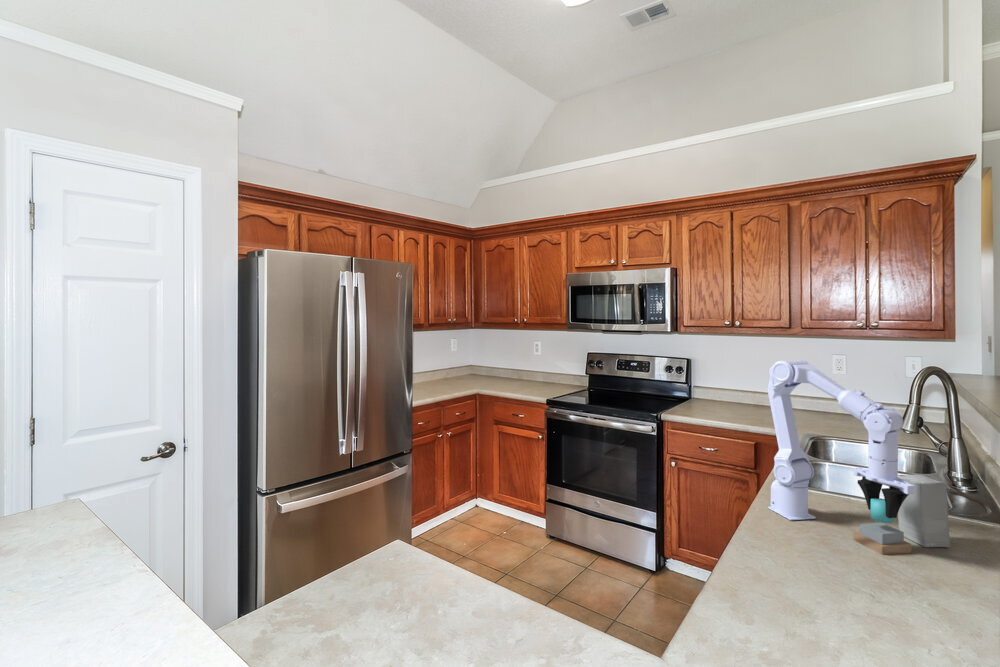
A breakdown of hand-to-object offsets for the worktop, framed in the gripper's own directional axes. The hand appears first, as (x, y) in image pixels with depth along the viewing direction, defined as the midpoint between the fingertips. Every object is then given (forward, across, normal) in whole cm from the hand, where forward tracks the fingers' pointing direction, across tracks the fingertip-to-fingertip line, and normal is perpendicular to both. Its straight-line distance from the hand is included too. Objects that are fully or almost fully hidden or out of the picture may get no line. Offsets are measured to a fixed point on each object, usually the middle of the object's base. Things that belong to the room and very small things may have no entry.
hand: (882, 513), depth 121 cm
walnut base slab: (+9, 0, 0) cm, 9 cm away
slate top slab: (+6, 0, 0) cm, 6 cm away
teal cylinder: (+1, 0, 0) cm, 1 cm away
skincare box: (+8, -1, +12) cm, 15 cm away
